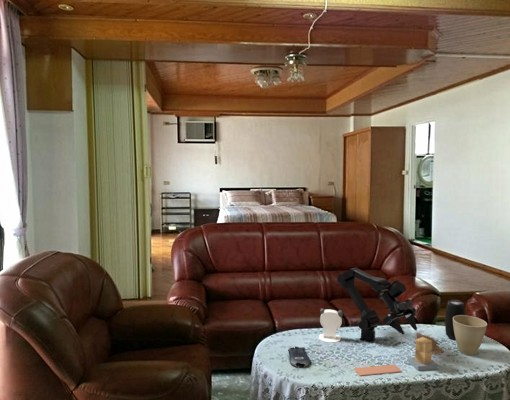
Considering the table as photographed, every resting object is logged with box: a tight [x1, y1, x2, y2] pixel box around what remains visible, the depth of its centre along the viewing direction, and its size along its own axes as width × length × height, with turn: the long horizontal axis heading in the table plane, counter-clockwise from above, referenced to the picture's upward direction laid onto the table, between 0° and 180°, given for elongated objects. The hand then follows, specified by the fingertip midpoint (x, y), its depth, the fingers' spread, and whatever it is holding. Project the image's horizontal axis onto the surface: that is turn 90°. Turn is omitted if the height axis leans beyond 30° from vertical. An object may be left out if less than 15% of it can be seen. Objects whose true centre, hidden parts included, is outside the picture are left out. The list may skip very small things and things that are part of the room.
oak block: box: [414, 337, 433, 365], centre depth 189 cm, size 5×5×10 cm
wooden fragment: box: [416, 332, 445, 356], centre depth 213 cm, size 26×11×1 cm, turn 174°
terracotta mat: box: [353, 364, 403, 377], centre depth 185 cm, size 20×6×1 cm, turn 101°
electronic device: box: [287, 346, 310, 369], centre depth 195 cm, size 9×6×15 cm
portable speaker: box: [444, 299, 466, 341], centre depth 219 cm, size 9×9×20 cm
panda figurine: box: [318, 308, 344, 343], centre depth 218 cm, size 12×11×15 cm
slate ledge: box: [407, 357, 439, 372], centre depth 190 cm, size 10×8×2 cm
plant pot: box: [453, 314, 488, 356], centre depth 202 cm, size 15×15×16 cm
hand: (410, 332), depth 195 cm, fingers open, 9 cm apart
